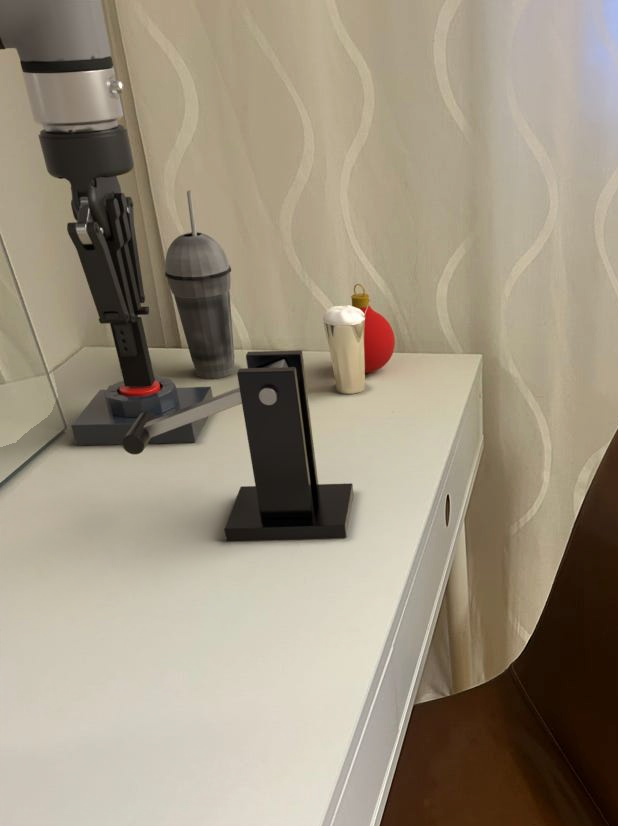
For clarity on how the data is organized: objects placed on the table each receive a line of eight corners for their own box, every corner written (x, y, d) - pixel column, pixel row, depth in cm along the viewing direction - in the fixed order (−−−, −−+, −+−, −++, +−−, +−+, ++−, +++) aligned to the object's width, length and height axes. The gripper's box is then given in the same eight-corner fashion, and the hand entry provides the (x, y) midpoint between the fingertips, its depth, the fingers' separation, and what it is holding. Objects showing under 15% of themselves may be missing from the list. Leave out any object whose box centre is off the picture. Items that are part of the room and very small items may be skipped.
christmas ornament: (324, 374, 114) (314, 286, 108) (363, 357, 119) (356, 272, 113) (369, 385, 111) (362, 296, 105) (408, 367, 115) (403, 281, 110)
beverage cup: (229, 357, 119) (199, 180, 108) (258, 372, 115) (230, 189, 103) (173, 371, 116) (137, 189, 104) (201, 387, 111) (166, 198, 100)
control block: (76, 445, 98) (65, 408, 96) (104, 408, 106) (95, 373, 104) (195, 442, 98) (187, 404, 96) (214, 405, 106) (208, 370, 104)
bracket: (226, 541, 81) (195, 380, 73) (242, 498, 87) (216, 346, 80) (346, 537, 81) (328, 376, 73) (353, 495, 88) (338, 343, 80)
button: (118, 410, 99) (114, 393, 98) (128, 395, 102) (125, 379, 101) (157, 409, 99) (154, 392, 98) (167, 394, 102) (163, 378, 101)
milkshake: (372, 397, 107) (364, 305, 102) (325, 395, 108) (315, 304, 103) (382, 383, 111) (375, 293, 105) (337, 381, 112) (327, 292, 106)
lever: (131, 461, 78) (115, 435, 77) (147, 436, 82) (132, 411, 81) (291, 402, 76) (278, 374, 74) (299, 380, 80) (286, 352, 79)
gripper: (102, 134, 81) (161, 406, 94) (142, 114, 91) (190, 361, 105) (12, 136, 81) (84, 408, 94) (62, 117, 91) (120, 363, 105)
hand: (140, 383), depth 99 cm, fingers closed
